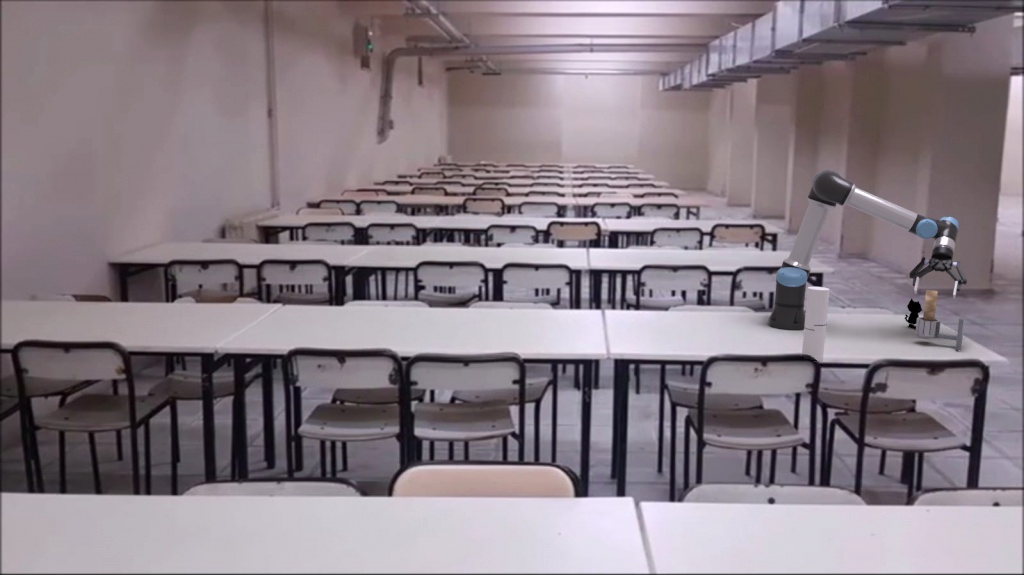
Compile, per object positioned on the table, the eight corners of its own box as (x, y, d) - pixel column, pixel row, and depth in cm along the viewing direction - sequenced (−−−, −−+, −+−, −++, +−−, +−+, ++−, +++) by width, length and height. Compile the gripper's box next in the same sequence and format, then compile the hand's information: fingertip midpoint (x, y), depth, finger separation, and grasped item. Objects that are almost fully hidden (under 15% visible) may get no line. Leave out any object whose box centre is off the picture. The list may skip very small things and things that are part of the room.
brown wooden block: (921, 332, 344) (925, 291, 342) (922, 330, 348) (926, 289, 345) (932, 333, 343) (937, 292, 340) (933, 331, 346) (938, 290, 343)
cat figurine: (924, 329, 371) (927, 301, 369) (908, 329, 371) (911, 300, 369) (915, 325, 378) (918, 297, 376) (899, 325, 378) (903, 297, 376)
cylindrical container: (824, 361, 313) (830, 290, 309) (802, 360, 315) (809, 289, 310) (821, 356, 320) (828, 287, 316) (800, 355, 322) (806, 286, 317)
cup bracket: (912, 345, 343) (916, 314, 341) (916, 339, 353) (919, 309, 351) (959, 351, 335) (963, 319, 333) (961, 345, 345) (965, 314, 343)
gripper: (978, 260, 351) (970, 304, 341) (908, 254, 364) (899, 296, 354) (979, 248, 346) (971, 292, 336) (908, 242, 358) (899, 284, 348)
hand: (934, 294), depth 345 cm, fingers open, 13 cm apart
